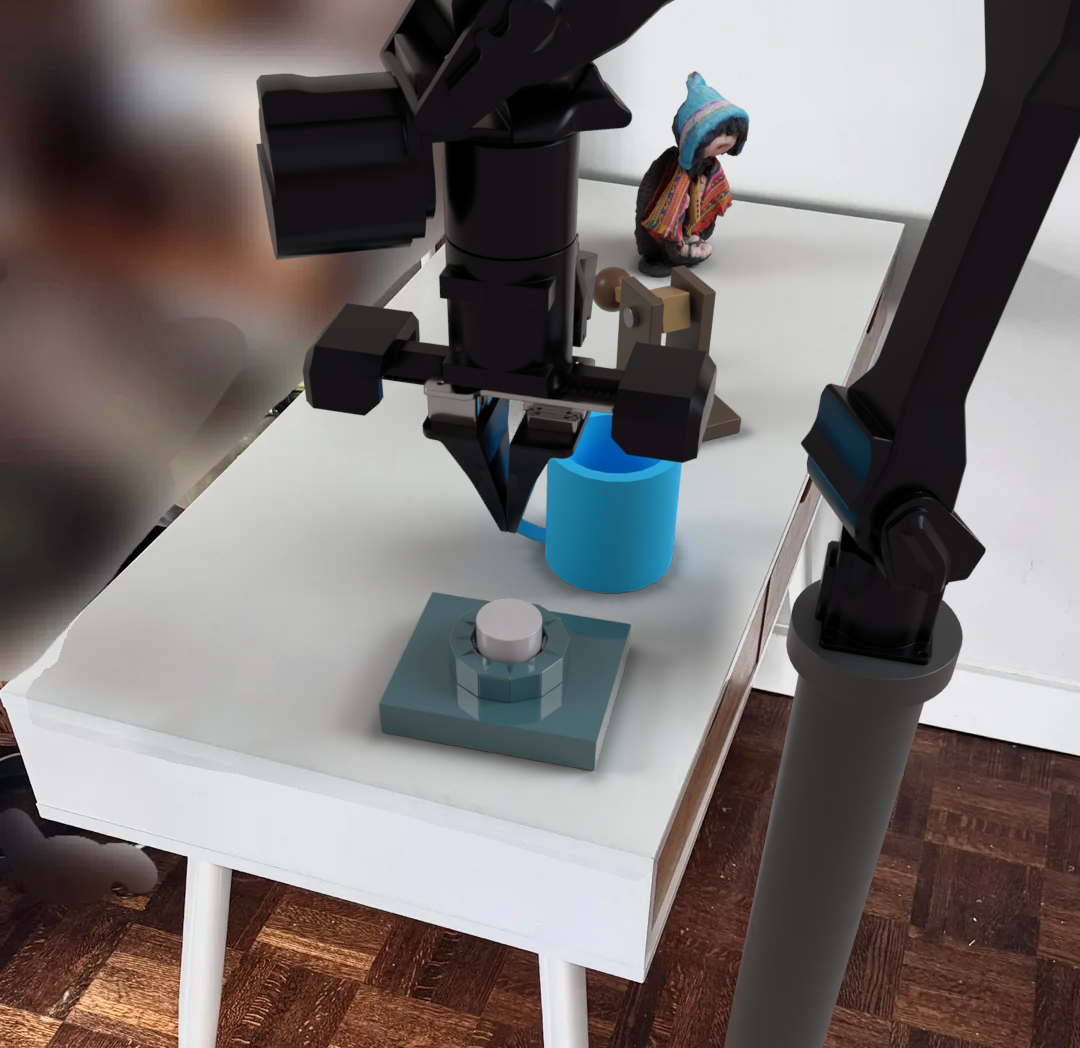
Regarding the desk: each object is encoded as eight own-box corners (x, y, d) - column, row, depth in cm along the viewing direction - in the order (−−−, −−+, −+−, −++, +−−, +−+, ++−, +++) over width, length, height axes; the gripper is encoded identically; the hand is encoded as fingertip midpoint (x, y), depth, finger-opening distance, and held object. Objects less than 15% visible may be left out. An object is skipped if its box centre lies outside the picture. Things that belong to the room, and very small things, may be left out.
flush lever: (585, 311, 100) (582, 267, 99) (622, 303, 101) (620, 260, 100) (657, 341, 91) (654, 293, 90) (697, 332, 92) (695, 284, 91)
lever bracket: (578, 390, 100) (582, 265, 93) (671, 368, 102) (682, 245, 95) (642, 457, 93) (652, 328, 86) (740, 432, 96) (757, 305, 89)
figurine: (685, 293, 111) (703, 107, 101) (617, 268, 114) (627, 84, 104) (749, 253, 117) (773, 72, 106) (683, 230, 120) (699, 53, 110)
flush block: (629, 652, 78) (633, 599, 76) (594, 771, 71) (597, 717, 69) (433, 619, 80) (430, 566, 77) (381, 732, 73) (375, 679, 70)
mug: (677, 523, 88) (689, 414, 82) (665, 600, 82) (676, 488, 76) (498, 503, 89) (497, 395, 83) (474, 578, 83) (471, 467, 78)
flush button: (548, 627, 74) (549, 603, 73) (533, 669, 72) (533, 645, 71) (486, 617, 75) (485, 593, 74) (468, 658, 72) (468, 634, 71)
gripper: (750, 183, 62) (714, 469, 72) (367, 140, 65) (387, 421, 75) (714, 290, 54) (680, 593, 65) (280, 235, 57) (317, 534, 68)
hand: (510, 527), depth 68 cm, fingers closed
